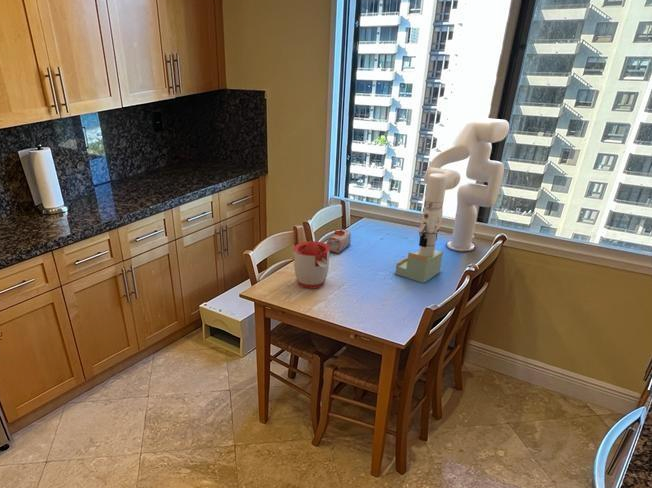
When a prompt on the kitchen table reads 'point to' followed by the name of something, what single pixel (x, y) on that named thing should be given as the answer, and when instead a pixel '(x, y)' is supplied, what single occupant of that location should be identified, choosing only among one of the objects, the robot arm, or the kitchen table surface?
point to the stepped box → (419, 266)
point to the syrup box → (429, 243)
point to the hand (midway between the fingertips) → (427, 243)
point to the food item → (339, 241)
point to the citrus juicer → (311, 263)
